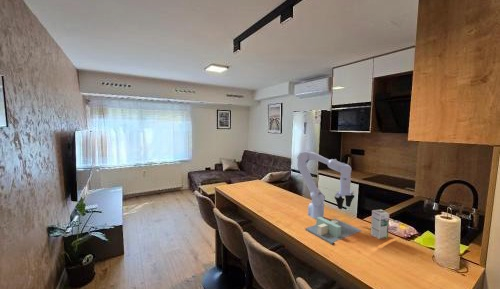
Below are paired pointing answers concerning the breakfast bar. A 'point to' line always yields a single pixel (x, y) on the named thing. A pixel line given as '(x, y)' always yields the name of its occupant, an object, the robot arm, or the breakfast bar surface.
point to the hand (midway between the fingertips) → (344, 207)
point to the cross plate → (330, 226)
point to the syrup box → (380, 224)
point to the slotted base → (324, 234)
